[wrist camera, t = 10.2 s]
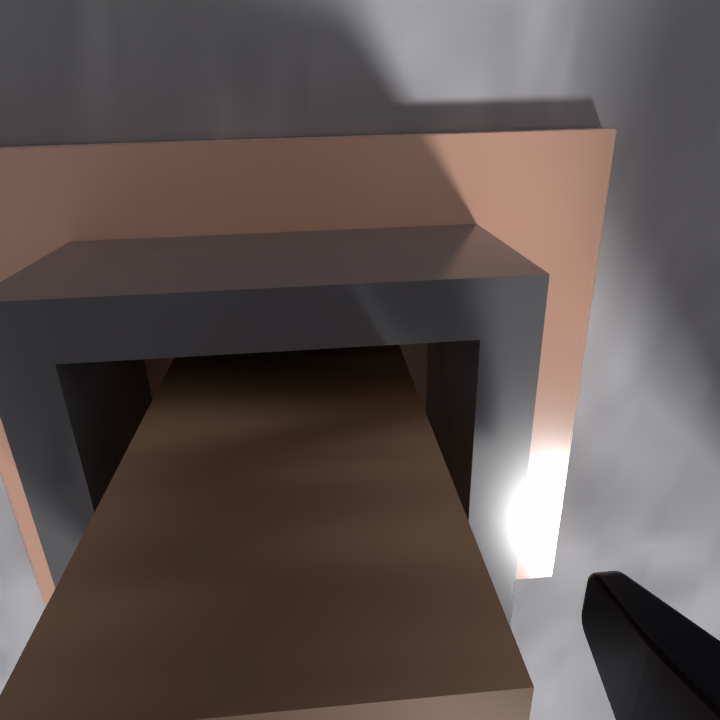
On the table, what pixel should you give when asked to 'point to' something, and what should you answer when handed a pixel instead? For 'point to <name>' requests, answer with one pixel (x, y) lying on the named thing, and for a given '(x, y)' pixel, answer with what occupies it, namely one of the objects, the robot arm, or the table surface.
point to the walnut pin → (276, 561)
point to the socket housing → (302, 302)
